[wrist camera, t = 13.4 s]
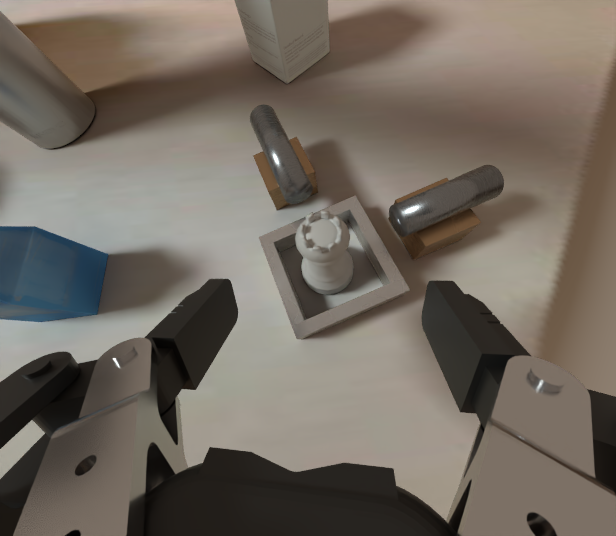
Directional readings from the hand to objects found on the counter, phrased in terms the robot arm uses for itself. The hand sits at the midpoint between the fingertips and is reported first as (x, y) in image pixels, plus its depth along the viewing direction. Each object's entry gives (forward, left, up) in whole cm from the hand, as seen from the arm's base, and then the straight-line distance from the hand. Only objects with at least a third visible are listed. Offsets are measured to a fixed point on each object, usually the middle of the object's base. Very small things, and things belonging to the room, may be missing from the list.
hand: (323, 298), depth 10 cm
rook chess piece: (-4, +1, -10) cm, 11 cm away
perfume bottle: (-13, -22, -10) cm, 28 cm away
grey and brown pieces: (-9, +6, -10) cm, 15 cm away
